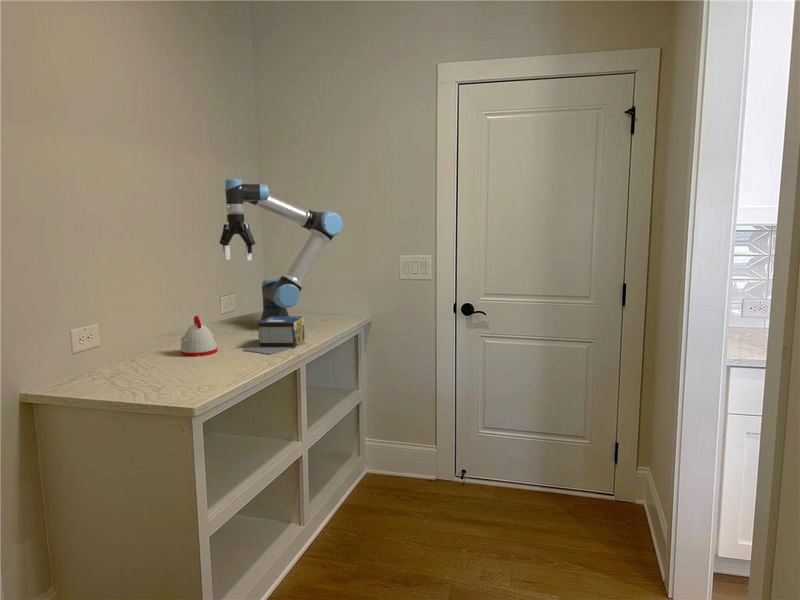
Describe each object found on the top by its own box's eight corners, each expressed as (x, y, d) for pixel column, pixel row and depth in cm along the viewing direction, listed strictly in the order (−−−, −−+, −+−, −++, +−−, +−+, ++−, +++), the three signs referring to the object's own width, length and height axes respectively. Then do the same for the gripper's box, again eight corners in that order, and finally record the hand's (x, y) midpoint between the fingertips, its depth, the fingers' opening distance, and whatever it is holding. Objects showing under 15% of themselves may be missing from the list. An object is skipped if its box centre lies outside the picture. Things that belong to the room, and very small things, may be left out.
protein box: (271, 338, 240) (305, 339, 239) (258, 346, 225) (295, 347, 224) (270, 315, 239) (304, 315, 237) (257, 322, 224) (294, 322, 222)
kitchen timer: (212, 346, 228) (210, 312, 226) (221, 353, 217) (219, 316, 215) (177, 351, 221) (175, 315, 218) (185, 358, 209) (183, 320, 207)
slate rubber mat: (279, 339, 240) (279, 339, 239) (306, 343, 232) (306, 342, 232) (242, 350, 221) (242, 349, 221) (270, 354, 213) (270, 353, 213)
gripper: (209, 214, 249) (212, 259, 252) (249, 213, 237) (252, 261, 240) (222, 214, 256) (225, 258, 259) (261, 213, 244) (264, 260, 247)
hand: (238, 260), depth 250 cm, fingers open, 13 cm apart
